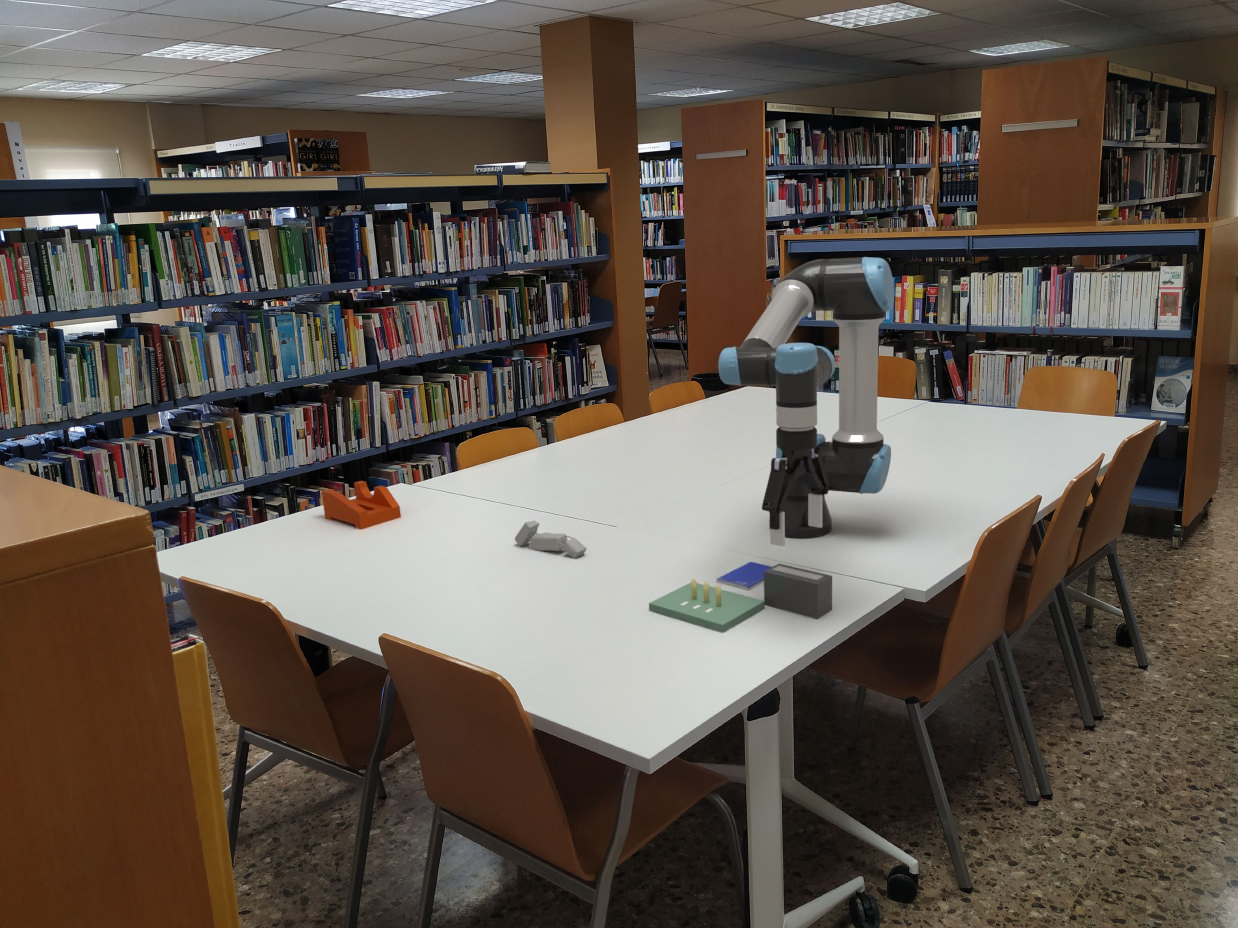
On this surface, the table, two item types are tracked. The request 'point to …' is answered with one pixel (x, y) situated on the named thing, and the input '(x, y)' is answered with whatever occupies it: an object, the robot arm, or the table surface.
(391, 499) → the orange cradle stand
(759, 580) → the hard drive
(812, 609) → the socket block
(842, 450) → the robot arm
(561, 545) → the grey jointed block chain
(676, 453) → the table surface
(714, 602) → the header board
